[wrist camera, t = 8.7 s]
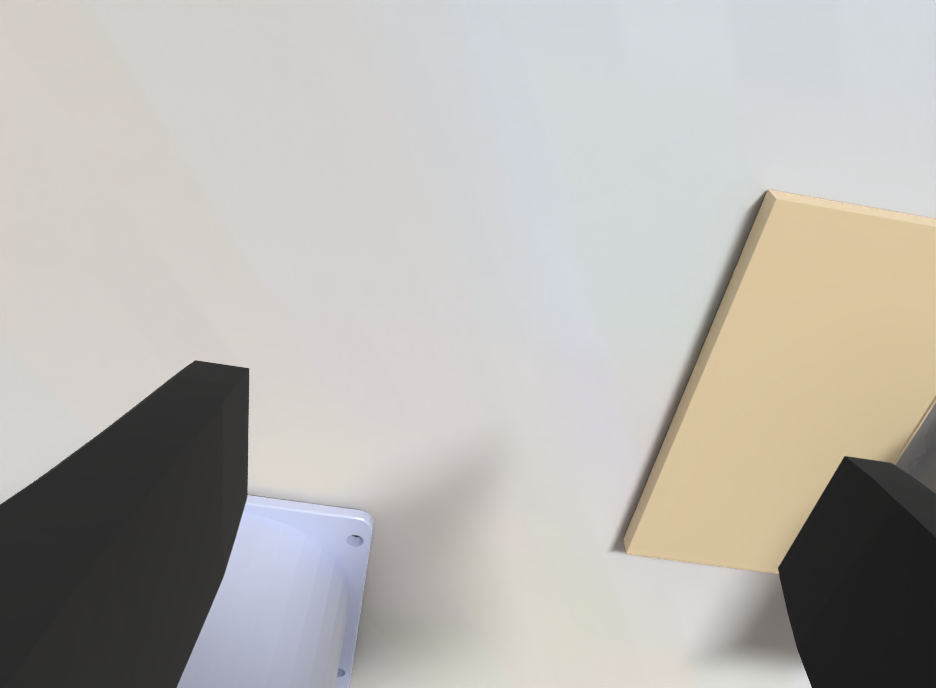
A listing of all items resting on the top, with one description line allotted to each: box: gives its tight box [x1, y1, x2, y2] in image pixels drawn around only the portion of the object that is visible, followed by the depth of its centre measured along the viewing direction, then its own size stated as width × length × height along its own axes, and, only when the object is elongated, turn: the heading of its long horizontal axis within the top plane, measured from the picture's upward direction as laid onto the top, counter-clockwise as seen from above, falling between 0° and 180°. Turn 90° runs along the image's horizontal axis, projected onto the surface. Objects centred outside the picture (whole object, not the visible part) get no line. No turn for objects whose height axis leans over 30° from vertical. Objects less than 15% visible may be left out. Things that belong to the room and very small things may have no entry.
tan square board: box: [623, 190, 936, 574], centre depth 21 cm, size 12×14×1 cm
